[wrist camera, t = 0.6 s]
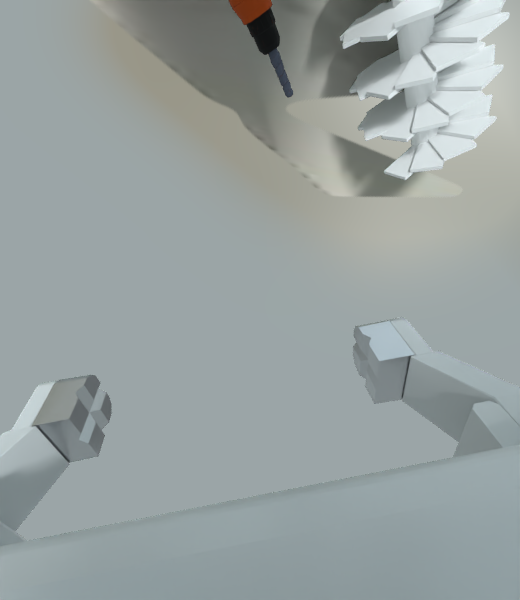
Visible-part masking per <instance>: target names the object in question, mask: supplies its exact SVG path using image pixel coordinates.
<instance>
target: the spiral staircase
mask: <svg viewBox="0 0 520 600" xmlns="http://www.w3.org/2000/svg"><path fill="white" fill-rule="evenodd" d="M504 3H505V0H391V1H390V2H388V3H381V4H380V5H378V6H377V7H375V8H374V9H373V10H371V11H370V12H368V13H367V14H365V15H364V16H363V17H360V18H357V19H356V20H355V21H354V22H353V23H352V24H351V25H350V27H349V28H348V29H347V30H346V31H345V32H344V33H343V34H342V35H341V36H340V41H343V49H345V48H347V47H349V46H352V45H354V44H356V43H358V42H360V41H361V42H372V41H388V40H389V39H390V38H392V37H393V36H394V35H395V34H396V33H397V40H398V47H399V50H397V51H395V52H393V53H391V54H390V55H388V56H386V57H384V58H382V59H378V60H377V61H375V62H374V63H373V64H372V65H370V66H369V67H368V68H366V69H365V70H364V71H363V72H361V73H360V74H359V75H358V76H357V79H356V81H355V82H354V84H353V85H352V87H351V88H350V90H349V91H350V93H355V92H357V93H358V96H359V99H360V101H361V100H363V99H366V98H368V97H370V96H372V97H377V98H382V99H385V100H383V101H382V102H381V103H379V104H378V105H376V106H375V107H374V108H372V109H371V110H369V111H368V112H367V115H366V117H365V118H364V120H363V121H362V122H361V124H360V125H359V127H358V130H364V136H365V141H367V140H370V139H373V138H375V137H378V136H381V135H382V136H381V137H382V139H387V140H395V141H402V142H408V141H409V140H410V139H411V145H412V146H411V147H410V148H409V149H408V150H407V151H406V152H405V153H404V154H402V155H401V156H400V157H399V158H398V159H397V160H396V161H395V162H393V163H392V164H391V165H390V166H389V167H388V168H387V169H386V170H384V174H387V175H390V176H394V177H397V178H400V179H403V180H406V179H407V178H409V177H410V176H411V175H412V174H413V173H414V172H420V171H428V170H436V169H442V168H443V164H444V161H445V160H448V159H450V158H452V157H455V156H457V155H459V154H462V153H464V152H466V151H469V150H471V149H473V148H476V146H477V144H476V143H475V142H474V141H473V140H472V139H475V138H476V137H478V136H479V135H480V134H481V133H482V132H483V131H484V130H485V129H487V128H488V127H489V126H490V125H491V124H492V123H493V122H494V121H495V120H496V117H495V116H488V115H489V111H490V106H491V101H492V95H487V96H485V94H484V93H483V92H482V91H481V90H482V89H483V88H484V87H485V86H486V85H487V84H488V83H489V82H490V81H491V80H492V79H493V78H494V77H495V76H496V75H497V74H498V73H499V72H500V71H501V70H502V69H503V65H494V56H495V44H493V45H490V46H487V47H485V43H484V42H482V41H480V40H481V39H482V38H483V37H485V36H486V35H488V34H489V33H490V32H491V31H492V30H494V29H495V28H496V27H498V26H499V25H500V24H502V23H503V22H504V21H505V20H507V19H508V18H509V12H504V13H500V11H501V9H502V7H503V5H504ZM403 88H404V91H402V92H400V91H401V90H402V89H403ZM398 92H400V93H398ZM397 93H398V94H397Z"/></svg>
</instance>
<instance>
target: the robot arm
mask: <svg viewBox="0 0 520 600" xmlns="http://www.w3.org/2000/svg"><path fill="white" fill-rule="evenodd" d="M354 338H355V340H356V341H357V342H356V344H355V345H354V346H353V357H354V363H355V365H356V368H357V371H358V373H359V375H360V376H362V377H363V378H365V379H366V386H365V387H366V388H367V391H368V392H369V394H370V396H371V398H372V400H373V402H374V404H376V403H383V402H389V401H395V400H401V399H402V401H403V402H405V403H406V404H407V405H409V406H410V407H411V408H413V409H414V410H416V411H417V412H418V413H420V414H421V415H422V416H424V417H425V418H426V419H428V420H429V421H431V422H432V423H433V424H435V425H436V426H438V427H439V428H440V429H441V430H443V431H444V432H446V433H447V434H448V435H450V436H451V437H452V438H454V439H455V440H456V441H458V442H459V443H458V446H457V448H456V451H455V453H454V456H453V457H452V458H447V459H442V460H437V461H432V462H427V463H422V464H417V465H412V466H407V467H401V468H397V469H391V470H386V471H382V472H376V473H371V474H366V475H361V476H355V477H350V478H345V479H340V480H335V481H330V482H325V483H319V484H315V485H310V486H304V487H299V488H294V489H289V490H284V491H279V492H273V493H269V494H263V495H259V496H253V497H248V498H243V499H238V500H233V501H227V502H222V503H218V504H212V505H207V506H202V507H197V508H192V509H188V510H182V511H177V512H172V513H167V514H161V515H156V516H151V517H146V518H141V519H136V520H131V521H126V522H121V523H115V524H110V525H105V526H100V527H96V528H90V529H85V530H80V531H75V532H69V533H64V534H60V535H54V536H50V537H44V538H39V539H34V540H29V541H27V540H26V539H25V538H24V537H22V536H21V535H19V534H18V533H16V532H15V531H16V530H17V529H18V527H19V526H20V525H21V524H22V522H23V521H24V520H25V519H26V518H27V516H28V515H29V514H30V513H31V511H32V510H33V509H34V508H35V506H36V505H37V504H38V502H39V501H40V500H41V499H42V498H43V496H44V495H45V494H46V493H47V491H48V490H49V489H50V488H51V486H52V485H53V484H54V483H55V482H56V480H57V479H58V478H59V477H60V475H61V474H62V473H63V472H64V470H65V469H66V468H67V467H68V465H69V463H70V462H74V461H79V460H83V459H88V458H93V457H97V456H99V453H100V449H101V446H102V443H103V440H104V437H105V435H104V433H103V431H102V429H103V428H104V427H105V426H106V425H107V424H108V423H109V420H110V417H111V401H110V398H109V396H108V394H107V393H106V392H105V391H103V390H101V389H99V385H100V382H99V380H98V379H97V377H96V376H95V375H87V376H81V377H74V378H68V379H62V380H58V381H52V382H45V383H42V384H40V385H39V386H37V388H36V390H35V391H34V393H33V395H32V396H31V398H30V400H29V401H28V403H27V405H26V406H25V408H24V410H23V411H22V413H21V415H20V416H19V418H18V420H17V421H16V423H15V425H14V426H13V429H12V430H11V431H7V432H5V433H3V434H2V435H1V436H0V600H520V387H518V386H516V385H514V384H512V383H510V382H507V381H505V380H503V379H501V378H498V377H496V376H494V375H491V374H489V373H487V372H485V371H483V370H480V369H478V368H476V367H474V366H471V365H469V364H467V363H465V362H462V361H460V360H458V359H456V358H453V357H451V356H449V355H447V354H445V353H442V352H440V351H436V352H434V351H433V350H432V349H431V348H430V346H429V345H428V344H427V343H426V342H425V341H424V339H423V338H422V337H421V336H420V335H419V333H418V332H417V331H416V330H415V329H414V328H413V326H412V325H411V324H410V323H409V322H408V321H407V320H406V318H404V317H400V318H395V319H390V320H387V321H381V322H376V323H370V324H366V325H360V326H356V327H355V329H354Z"/></svg>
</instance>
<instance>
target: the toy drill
mask: <svg viewBox="0 0 520 600" xmlns="http://www.w3.org/2000/svg"><path fill="white" fill-rule="evenodd" d="M229 2H230V5H231V7H232V9H233V10H234V11H235V13H236V14H237V15H238V16H239V18H240V19H241V20H242V22H243V24H244V25H247V27H248V29H249V31H250V34H251V36H252V37H254V39H255V42H256V44H257V46H258V49H259V51H260V52H262V53H263V54H264V55H266V54H269V57H270V59H271V63H272V65H273V67H274V68H275V69H276V70H275V71H276V73H277V76H278V77H279V81H280V83H281V85H282V86H283V90H284V92H285V95H286V96H287V97H291V96H292V95H293V90H292V89H291V85H290V82H289V80H288V78H287V75H286V72H285V70H284V66H283V63H282V60H281V57H280V54H279V52H278V51H277V47H278V46H279V43H280V36H279V33H278V31H277V28H276V25H275V19H274V16H273V13H272V10H271V6H272V2H271V0H229Z"/></svg>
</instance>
